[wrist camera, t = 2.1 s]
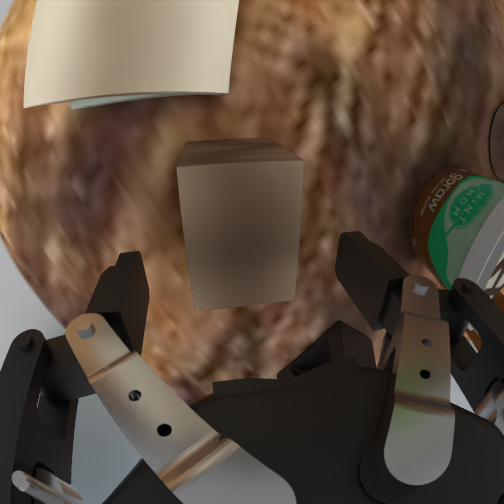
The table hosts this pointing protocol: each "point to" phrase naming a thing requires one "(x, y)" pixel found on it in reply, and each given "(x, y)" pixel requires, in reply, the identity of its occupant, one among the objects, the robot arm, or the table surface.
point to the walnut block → (240, 221)
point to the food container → (460, 229)
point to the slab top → (128, 49)
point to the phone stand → (332, 351)
